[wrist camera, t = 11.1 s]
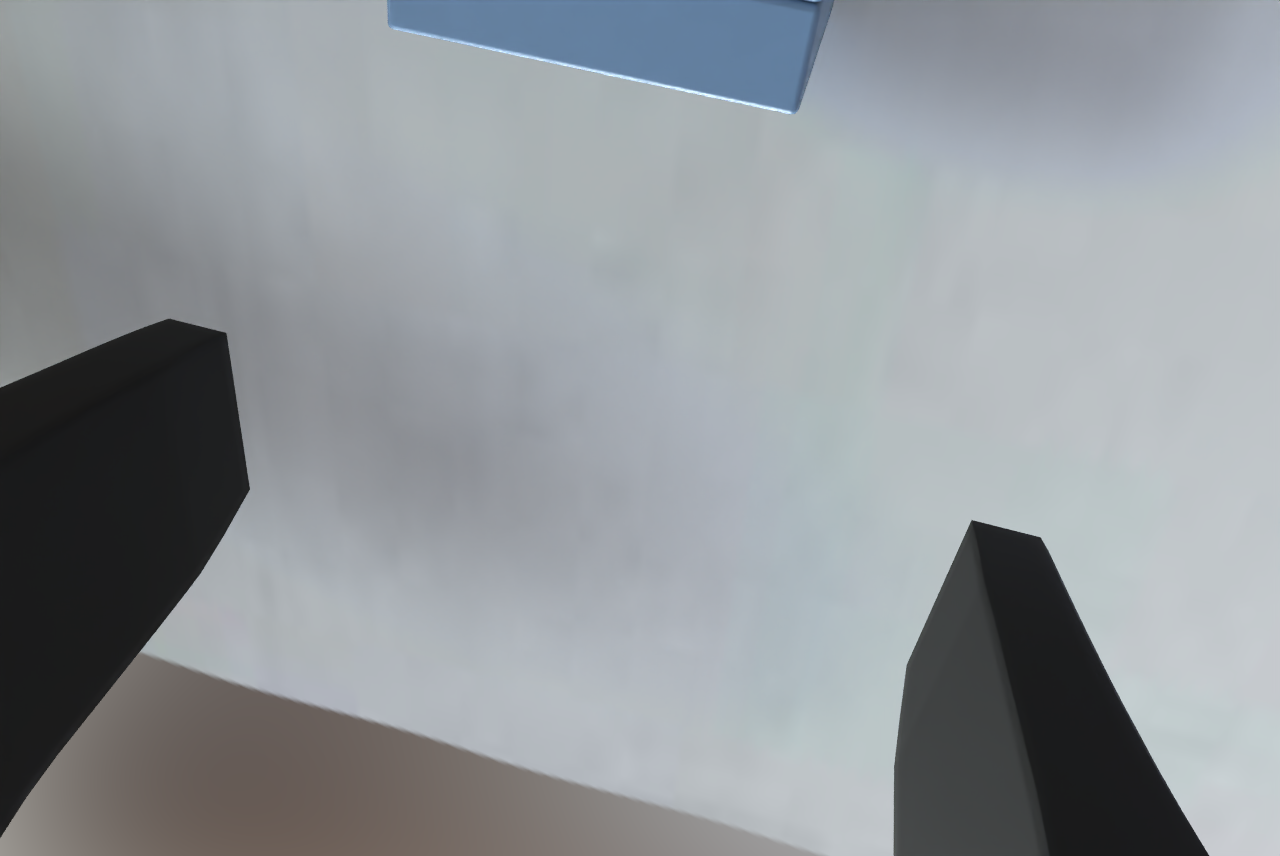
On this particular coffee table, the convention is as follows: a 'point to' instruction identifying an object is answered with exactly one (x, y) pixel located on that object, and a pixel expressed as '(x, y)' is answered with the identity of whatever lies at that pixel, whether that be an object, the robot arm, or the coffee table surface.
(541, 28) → the blue block
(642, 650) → the coffee table surface
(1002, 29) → the coffee table surface
